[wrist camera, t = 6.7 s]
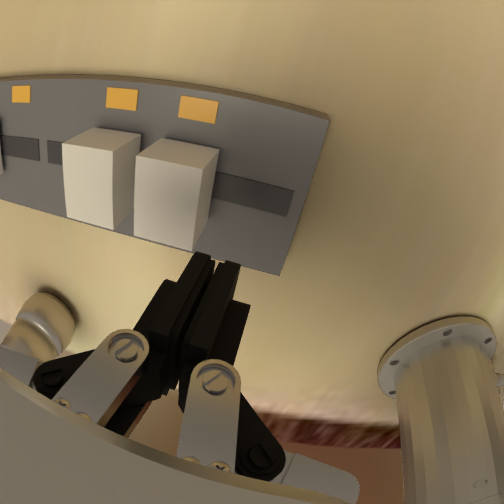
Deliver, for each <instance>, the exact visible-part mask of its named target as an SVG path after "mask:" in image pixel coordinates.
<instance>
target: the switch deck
mask: <svg viewBox="0 0 504 504" xmlns="http://www.w3.org/2000/svg"><path fill="white" fill-rule="evenodd" d="M329 123H330V120H329V118H328V115H327V114H324V113H321V112H318V111H314V110H311V109H307V108H304V107H300V106H296V105H293V104H289V103H285V102H281V101H277V100H273V99H269V98H264V97H260V96H256V95H251V94H246V93H241V92H237V91H231V90H226V89H221V88H215V87H209V86H203V85H197V84H190V83H183V82H176V81H168V80H159V79H150V78H139V77H127V76H111V75H83V74H56V75H29V76H14V77H3V78H0V146H1V157H2V165H3V174H2V175H0V199H2V200H5V201H9V202H12V203H16V204H19V205H22V206H26V207H29V208H33V209H36V210H39V211H43V212H46V213H50V214H53V215H57V216H60V217H64V218H67V219H71V220H74V221H78V222H81V223H85V224H88V225H92V226H95V227H99V228H103V229H106V230H110V231H113V232H117V233H120V234H124V235H128V236H131V237H135V238H139V239H142V240H146V241H150V242H153V243H157V244H161V245H164V246H168V247H172V248H175V249H179V250H183V251H186V252H190V253H195V252H196V251H198V252H202V253H205V254H208V255H211V258H213V259H216V260H220V261H224V262H225V261H226V260H229V261H232V262H235V263H239V264H241V266H243V267H247V268H251V269H255V270H258V271H262V272H266V273H270V274H274V275H278V276H280V273H281V270H282V267H283V264H284V261H285V259H286V256H287V253H288V250H289V247H290V244H291V241H292V238H293V235H294V232H295V229H296V226H297V223H298V220H299V217H300V214H301V211H302V208H303V205H304V202H305V199H306V196H307V193H308V190H309V186H310V183H311V180H312V177H313V174H314V171H315V168H316V165H317V161H318V158H319V155H320V152H321V149H322V145H323V142H324V139H325V136H326V132H327V129H328V126H329ZM93 127H95V128H102V129H110V130H117V131H123V132H130V133H136V134H141V141H140V152H142V151H143V150H145V149H146V148H148V147H149V146H150V145H152V144H153V143H155V142H156V141H158V140H159V139H161V138H165V139H171V140H176V141H181V142H186V143H191V144H196V145H201V146H206V147H211V148H215V149H220V150H219V155H218V161H217V167H216V172H215V178H214V184H213V190H212V196H211V202H210V208H209V214H208V220H207V223H206V225H205V227H204V229H203V231H202V233H201V235H200V236H199V238H198V240H197V242H196V244H195V246H194V248H193V250H192V251H189V250H185V249H181V248H177V247H174V246H170V245H166V244H162V243H159V242H155V241H151V240H148V239H144V238H140V237H137V236H134V208H133V209H132V210H131V211H130V212H129V214H128V215H127V216H126V217H125V218H124V219H123V220H122V221H121V222H120V223H119V224H118V226H117V227H116V228H115V229H114V230H111V229H108V228H104V227H101V226H97V225H93V224H90V223H86V222H83V221H79V220H76V219H72V218H69V217H67V212H66V202H65V191H64V178H63V160H62V143H63V142H65V141H67V140H69V139H71V138H73V137H75V136H77V135H79V134H81V133H83V132H85V131H87V130H89V129H91V128H93Z"/></svg>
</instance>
